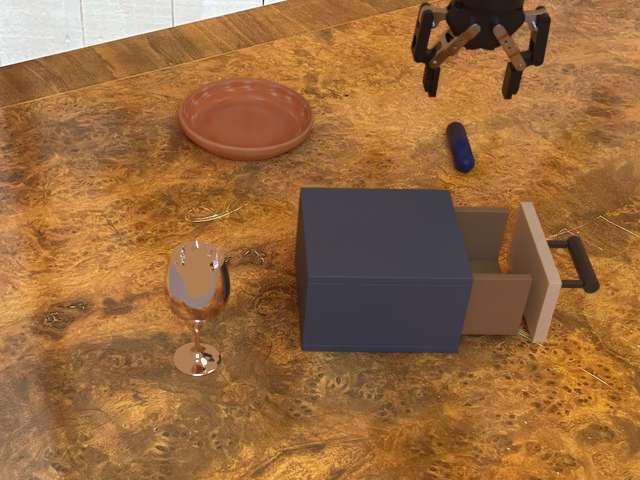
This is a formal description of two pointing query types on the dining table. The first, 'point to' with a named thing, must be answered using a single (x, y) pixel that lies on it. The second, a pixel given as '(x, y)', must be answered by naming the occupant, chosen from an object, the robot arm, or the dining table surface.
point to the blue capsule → (460, 147)
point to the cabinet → (380, 270)
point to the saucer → (246, 118)
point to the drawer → (516, 272)
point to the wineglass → (197, 299)
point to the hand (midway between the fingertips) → (468, 95)
